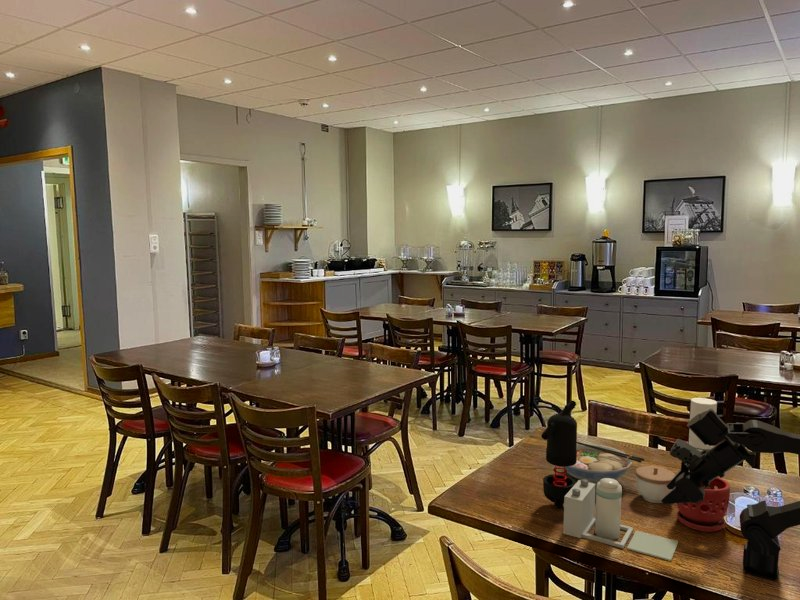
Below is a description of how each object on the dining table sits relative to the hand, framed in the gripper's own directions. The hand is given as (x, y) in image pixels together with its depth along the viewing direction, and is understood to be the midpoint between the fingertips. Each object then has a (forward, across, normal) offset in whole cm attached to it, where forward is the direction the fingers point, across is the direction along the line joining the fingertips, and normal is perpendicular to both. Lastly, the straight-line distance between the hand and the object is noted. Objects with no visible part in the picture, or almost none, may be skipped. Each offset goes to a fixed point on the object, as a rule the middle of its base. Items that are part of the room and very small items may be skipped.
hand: (665, 494), depth 147 cm
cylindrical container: (+7, -50, +13) cm, 52 cm away
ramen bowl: (+27, -33, -7) cm, 43 cm away
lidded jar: (+14, -28, +6) cm, 32 cm away
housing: (+20, -1, -1) cm, 21 cm away
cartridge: (+19, 0, 0) cm, 19 cm away
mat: (+11, 0, +8) cm, 14 cm away
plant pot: (+5, -18, +15) cm, 24 cm away
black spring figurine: (+30, -8, -10) cm, 33 cm away
